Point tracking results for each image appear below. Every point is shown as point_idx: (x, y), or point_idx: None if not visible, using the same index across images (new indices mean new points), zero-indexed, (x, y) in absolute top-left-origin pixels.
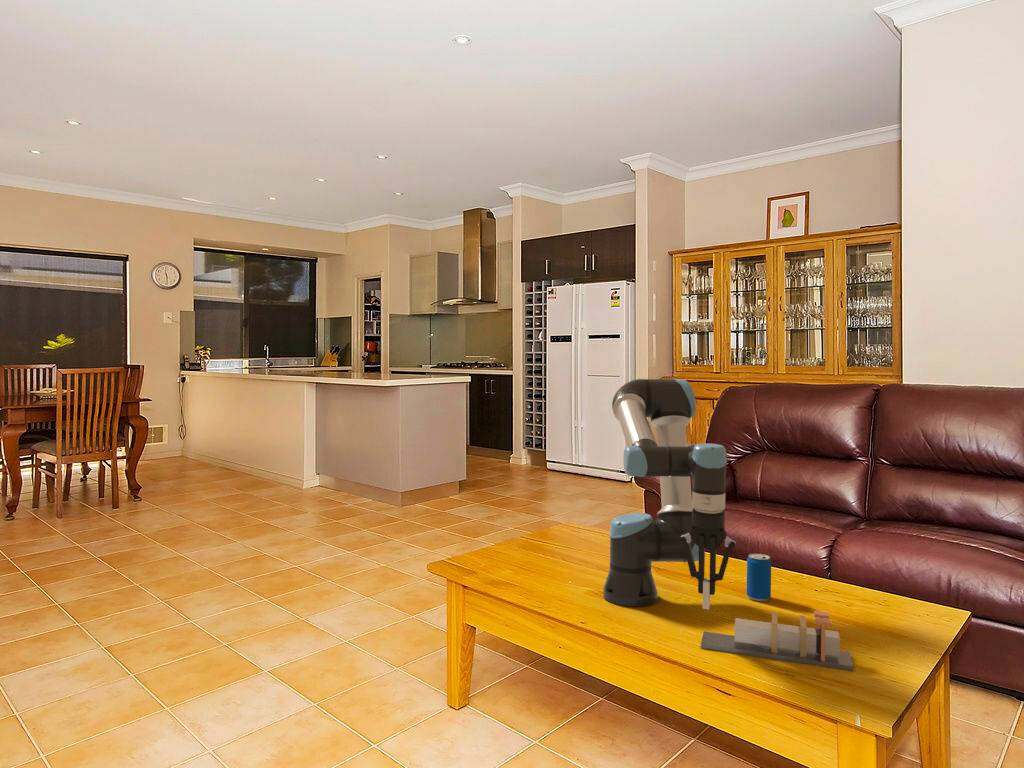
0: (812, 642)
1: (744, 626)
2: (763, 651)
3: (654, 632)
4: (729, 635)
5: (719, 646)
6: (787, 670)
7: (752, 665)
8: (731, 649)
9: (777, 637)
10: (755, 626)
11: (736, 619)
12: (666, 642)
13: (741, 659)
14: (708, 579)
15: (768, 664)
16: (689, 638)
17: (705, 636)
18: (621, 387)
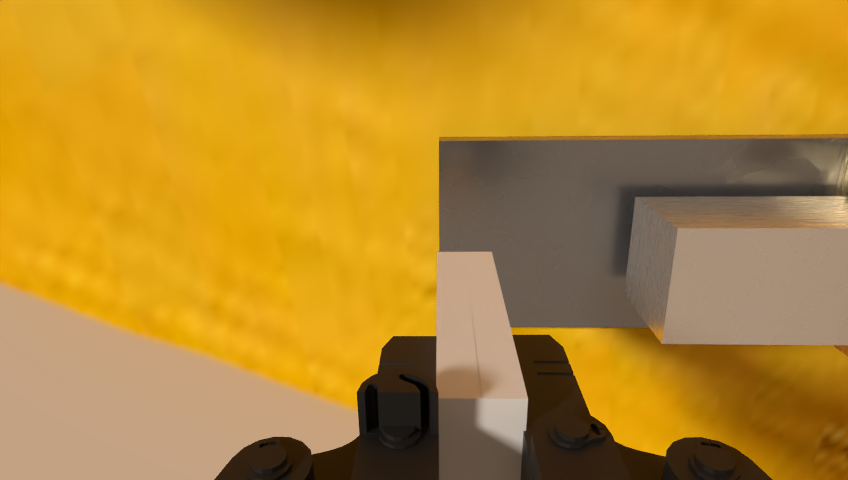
0: None
1: (724, 339)
2: None
3: (169, 198)
4: (594, 147)
5: (537, 323)
6: (840, 412)
7: (684, 414)
8: (598, 325)
9: None
10: (804, 336)
11: (682, 253)
12: (265, 305)
13: (638, 370)
14: (500, 431)
15: (762, 381)
16: (367, 210)
17: (455, 217)
18: None
